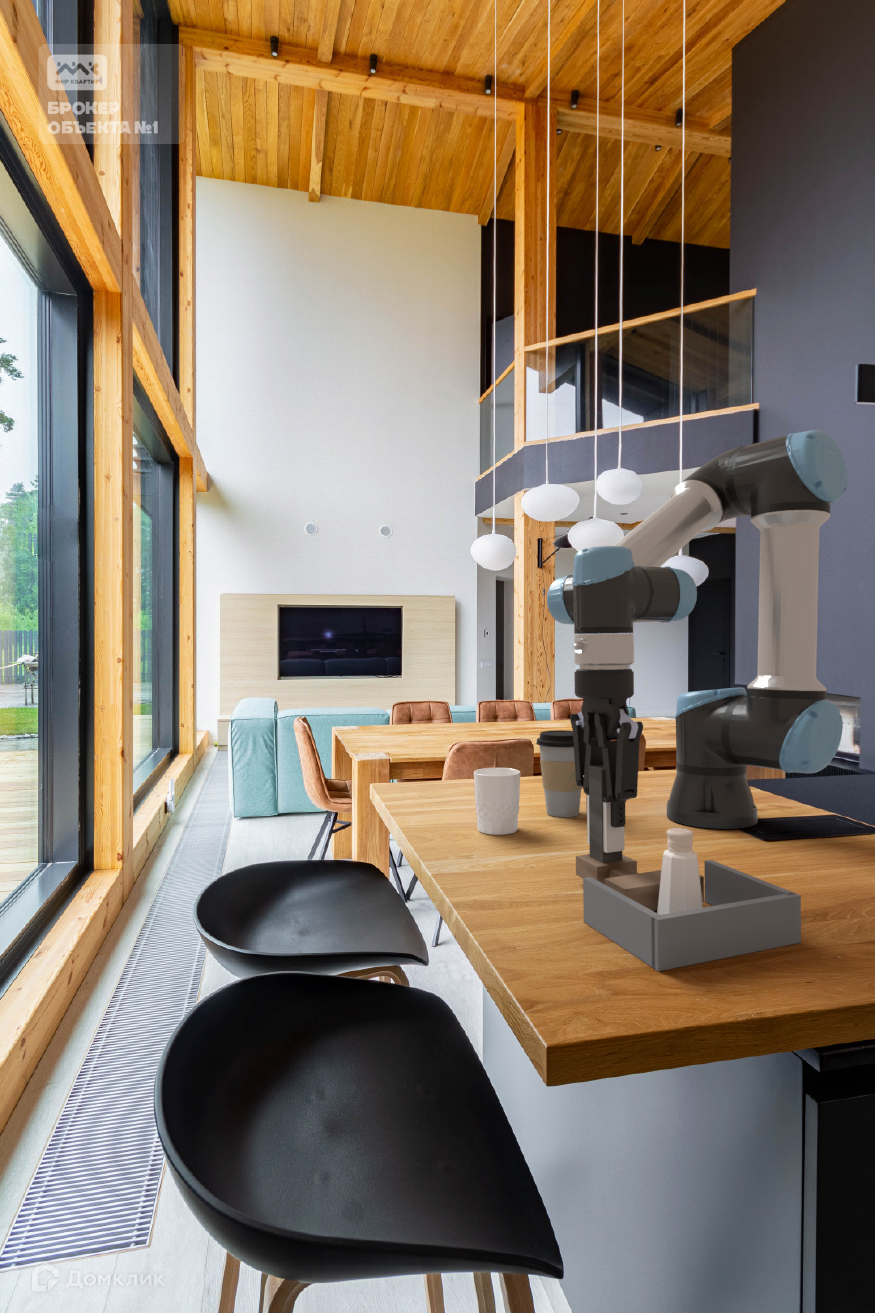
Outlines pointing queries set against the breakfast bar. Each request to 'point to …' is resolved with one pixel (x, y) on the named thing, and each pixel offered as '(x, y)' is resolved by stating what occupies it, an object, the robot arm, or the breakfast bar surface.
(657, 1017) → the breakfast bar surface
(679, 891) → the salt shaker
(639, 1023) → the breakfast bar surface
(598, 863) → the block post with base
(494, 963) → the breakfast bar surface
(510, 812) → the white cup
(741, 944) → the box
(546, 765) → the coffee cup
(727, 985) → the breakfast bar surface
